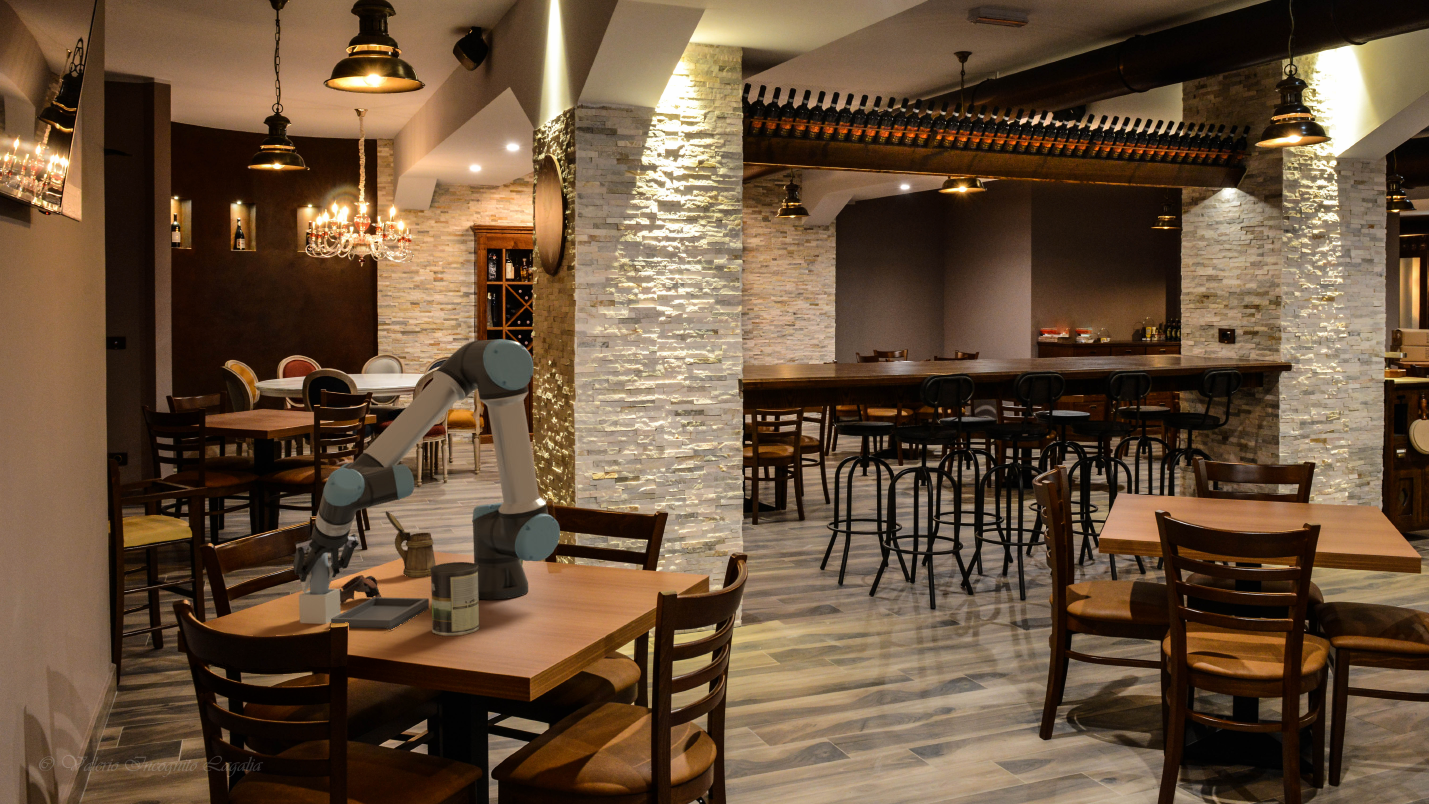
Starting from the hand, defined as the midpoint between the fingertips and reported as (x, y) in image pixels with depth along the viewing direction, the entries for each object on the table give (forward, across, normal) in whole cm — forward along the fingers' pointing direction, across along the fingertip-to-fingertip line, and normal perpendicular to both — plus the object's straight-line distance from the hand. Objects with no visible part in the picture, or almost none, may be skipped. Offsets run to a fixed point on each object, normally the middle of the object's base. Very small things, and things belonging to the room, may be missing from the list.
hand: (314, 585), depth 238 cm
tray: (-2, +12, -13) cm, 18 cm away
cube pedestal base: (+3, 0, -8) cm, 9 cm away
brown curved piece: (+11, +13, -1) cm, 17 cm away
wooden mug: (+28, +35, +17) cm, 48 cm away
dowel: (+2, 0, -8) cm, 8 cm away
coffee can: (-16, +22, -27) cm, 38 cm away
